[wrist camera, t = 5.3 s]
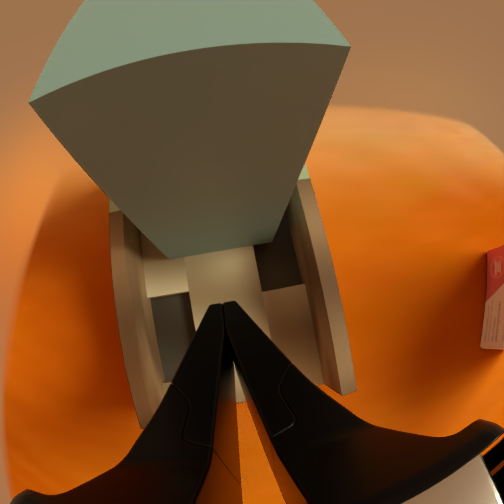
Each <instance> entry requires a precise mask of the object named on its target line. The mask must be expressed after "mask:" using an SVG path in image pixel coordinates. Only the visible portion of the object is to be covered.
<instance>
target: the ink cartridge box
mask: <svg viewBox="0 0 504 504" xmlns="http://www.w3.org/2000/svg"><path fill="white" fill-rule="evenodd" d="M480 348H484V349H499V350H504V245H503V246H501V247H498V248H495V249H493V250H490V251H488V252H487V288H486V302H485V312H484V321H483V329H482V336H481V342H480Z"/></svg>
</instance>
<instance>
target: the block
mask: <svg viewBox="0 0 504 504" xmlns="http://www.w3.org/2000/svg"><path fill="white" fill-rule="evenodd" d="M350 48H351V46H350V45H349V44H348V42H347V41H346V39H345V38H344V37H343V36H342V34H341V33H340V32H339V30H338V29H337V28H336V27H335V25H334V24H333V23H332V22H331V21H330V19H329V18H328V17H327V16H326V15H325V13H324V12H323V11H322V10H321V9H320V8H319V7H318V6H317V5H316V3H315V2H314V1H313V0H84V2H83V3H82V5H81V6H80V8H79V9H78V10H77V12H76V13H75V15H74V16H73V18H72V20H71V21H70V22H69V24H68V26H67V27H66V29H65V30H64V32H63V34H62V36H61V37H60V39H59V41H58V42H57V44H56V46H55V48H54V49H53V51H52V53H51V55H50V57H49V59H48V61H47V63H46V65H45V67H44V69H43V71H42V73H41V75H40V77H39V80H38V82H37V84H36V86H35V89H34V91H33V94H32V96H31V98H30V101H29V104H30V105H31V107H32V108H33V109H34V110H35V112H36V113H37V114H38V116H39V117H40V118H41V119H42V121H43V122H44V123H45V124H46V126H47V127H48V128H49V129H50V131H51V132H52V133H53V134H54V135H55V137H56V138H57V139H58V140H59V142H61V144H62V145H63V146H64V148H65V149H66V150H67V151H68V152H69V153H70V155H71V156H72V157H73V158H74V159H75V160H76V162H77V163H78V164H79V165H80V166H81V167H82V168H83V170H84V171H85V172H86V173H87V174H88V175H89V176H90V177H91V179H92V180H93V181H94V182H95V183H96V184H97V185H98V186H99V187H100V189H101V190H102V191H103V192H104V193H105V194H106V195H107V196H108V197H109V198H110V199H111V200H112V202H113V203H114V204H115V205H116V206H117V207H118V208H119V209H120V210H121V211H122V212H123V213H124V214H125V215H126V216H127V217H128V218H129V219H130V221H131V222H132V223H133V224H134V225H135V226H136V227H137V228H138V229H139V230H140V231H141V232H142V233H143V234H144V235H145V236H146V237H147V238H148V239H149V240H150V241H151V242H152V243H153V244H154V245H155V246H156V247H157V248H158V249H159V250H160V251H161V252H162V253H163V254H164V255H165V256H166V257H167V258H168V259H169V260H170V259H175V258H181V257H187V256H193V255H199V254H204V253H210V252H216V251H222V250H228V249H234V248H240V247H246V246H251V245H257V244H263V243H269V242H272V241H273V239H274V236H275V234H276V231H277V229H278V227H279V224H280V222H281V219H282V217H283V215H284V212H285V210H286V207H287V205H288V203H289V200H290V198H291V195H292V193H293V191H294V188H295V186H296V183H297V181H298V178H299V176H300V174H301V171H302V169H303V166H304V164H305V161H306V159H307V156H308V154H309V151H310V149H311V147H312V144H313V142H314V139H315V137H316V134H317V132H318V129H319V127H320V124H321V122H322V119H323V117H324V114H325V112H326V109H327V107H328V104H329V102H330V99H331V97H332V94H333V91H334V89H335V86H336V84H337V81H338V79H339V76H340V74H341V71H342V69H343V66H344V63H345V61H346V58H347V56H348V53H349V50H350Z"/></svg>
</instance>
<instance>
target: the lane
mask: <svg viewBox="0 0 504 504" xmlns="http://www.w3.org/2000/svg"><path fill="white" fill-rule="evenodd" d="M109 229H110V253H111V268H112V280H113V290H114V299H115V307H116V315H117V322H118V329H119V335H120V341H121V347H122V352H123V358H124V363H125V368H126V372H127V377H128V381H129V386H130V390H131V394H132V398H133V402H134V406H135V410H136V413H137V417H138V421H139V424H140V427H141V429H145V427H146V426H147V424H148V423H149V421H150V420H151V418H152V416H153V415H154V413H155V412H156V410H157V408H158V407H159V405H160V403H161V401H162V399H163V397H164V395H165V393H166V391H167V389H168V387H169V385H170V384H172V383H171V381H172V379H173V377H174V375H175V373H176V371H177V369H178V367H179V365H180V363H181V361H182V359H183V357H184V355H185V353H186V351H187V349H188V347H189V345H190V343H191V341H192V338H193V336H194V334H195V332H196V330H197V328H198V326H199V324H200V322H201V320H202V318H203V316H204V314H205V312H206V310H207V308H208V306H209V305H211V304H216V303H222V305H223V303H224V302H228V301H236V302H237V303H238V304H239V305H240V306H241V307H242V308H243V310H244V311H245V312H246V313H247V314H248V315H249V316H250V317H251V319H252V320H253V321H254V322H255V323H256V324H257V325H258V326H259V327H260V328H261V330H262V331H263V332H264V333H265V334H266V335H267V336H268V337H269V338H270V339H271V340H272V341H273V343H274V344H275V345H276V346H277V347H278V348H279V349H280V350H281V351H282V352H283V353H284V354H285V355H286V356H287V358H288V359H289V360H290V361H291V362H292V364H294V365H295V366H296V367H297V368H298V369H299V370H300V371H301V372H302V373H303V374H304V375H305V376H306V377H307V378H308V379H309V380H310V381H311V382H312V383H314V384H315V385H316V386H317V385H321V384H325V385H327V386H328V387H330V388H331V389H333V390H334V391H336V392H337V393H338V394H340V395H341V396H343V395H346V394H349V393H352V392H355V391H357V389H356V382H355V375H354V368H353V362H352V356H351V350H350V344H349V339H348V333H347V328H346V323H345V317H344V312H343V307H342V303H341V298H340V293H339V288H338V284H337V279H336V275H335V271H334V266H333V262H332V258H331V254H330V250H329V246H328V242H327V238H326V234H325V230H324V226H323V223H322V219H321V215H320V211H319V208H318V204H317V201H316V197H315V194H314V190H313V187H312V184H311V180H310V178H309V179H300V180H298V181H297V183H296V186H295V188H294V191H293V193H292V195H291V198H290V200H289V203H288V205H287V207H286V210H285V212H284V215H283V217H282V219H281V222H280V224H279V227H278V229H277V231H276V234H275V236H274V239H273V241H272V242H269V243H263V244H257V245H251V246H246V247H240V248H234V249H228V250H222V251H216V252H210V253H204V254H199V255H193V256H187V257H181V258H175V259H170V260H169V259H168V258H167V257H166V256H165V255H164V254H163V253H162V252H161V251H160V250H159V249H158V248H157V247H156V246H155V245H154V244H153V243H152V242H151V241H150V240H149V239H148V238H147V237H146V236H145V235H144V234H143V233H142V232H141V231H140V230H139V229H138V228H137V227H136V226H135V225H134V224H133V223H132V222H131V221H130V219H129V218H128V217H127V216H126V215H125V214H124V213H123V212H122V211H121V210H119V211H115V212H111V213H109ZM233 362H234V361H233ZM234 370H235V389H236V403H240V402H246V399H245V396H244V393H243V390H242V387H241V384H240V381H239V379H238V376H237V372H236V369H235V365H234Z"/></svg>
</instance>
